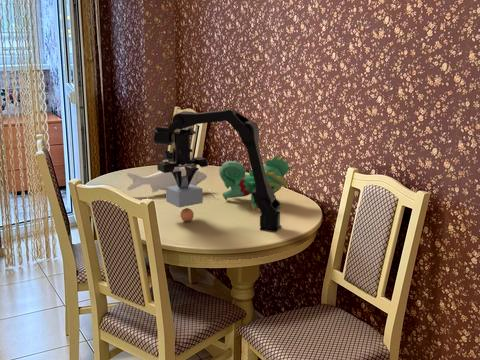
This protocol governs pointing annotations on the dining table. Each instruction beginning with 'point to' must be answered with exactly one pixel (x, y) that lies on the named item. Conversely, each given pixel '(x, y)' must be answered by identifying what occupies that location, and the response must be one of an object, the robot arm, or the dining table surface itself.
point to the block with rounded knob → (184, 194)
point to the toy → (252, 178)
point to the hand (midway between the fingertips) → (183, 186)
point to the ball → (187, 214)
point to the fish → (163, 179)
